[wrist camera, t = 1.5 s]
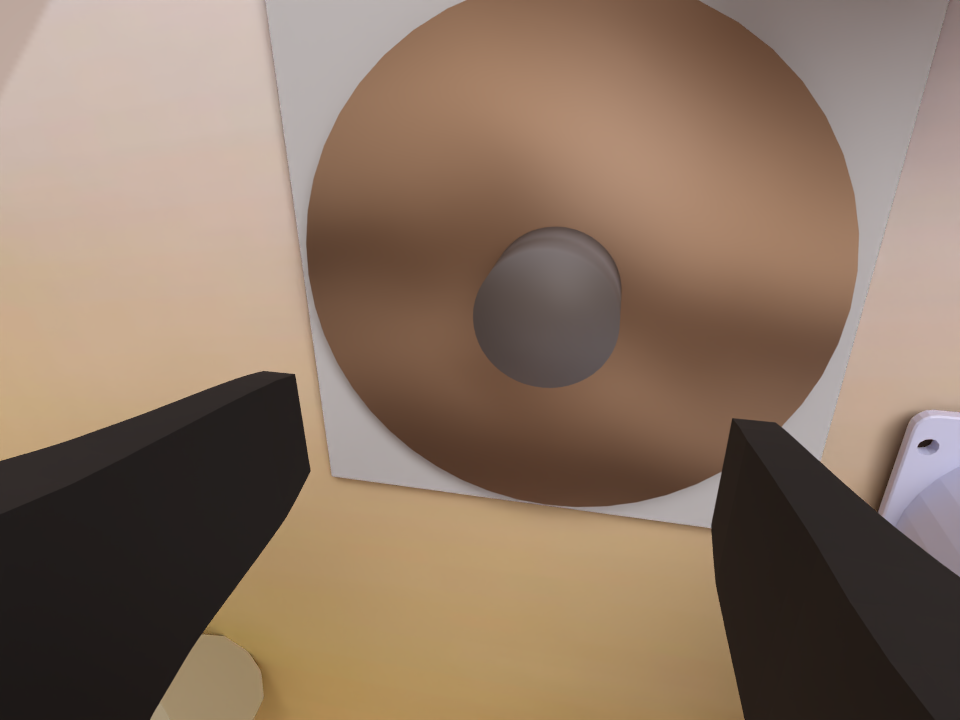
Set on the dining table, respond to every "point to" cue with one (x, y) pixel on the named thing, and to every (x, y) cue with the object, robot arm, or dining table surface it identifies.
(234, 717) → the flower vase
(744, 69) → the walnut lid
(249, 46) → the dining table surface
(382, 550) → the dining table surface
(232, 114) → the dining table surface
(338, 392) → the grey mat
